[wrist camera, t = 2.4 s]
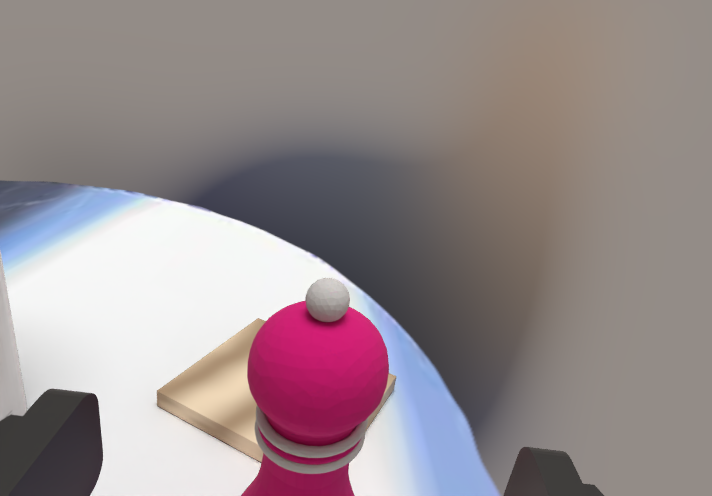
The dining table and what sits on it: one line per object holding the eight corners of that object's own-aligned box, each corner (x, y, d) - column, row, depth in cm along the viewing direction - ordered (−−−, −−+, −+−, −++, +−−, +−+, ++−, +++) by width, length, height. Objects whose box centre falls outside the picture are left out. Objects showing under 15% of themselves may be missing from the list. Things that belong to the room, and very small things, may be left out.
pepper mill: (272, 513, 32) (301, 229, 24) (372, 572, 29) (444, 276, 21) (191, 618, 26) (194, 285, 18) (309, 705, 23) (375, 361, 15)
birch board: (157, 405, 39) (156, 390, 38) (257, 330, 50) (258, 318, 49) (322, 495, 34) (324, 479, 33) (393, 389, 45) (396, 376, 44)
